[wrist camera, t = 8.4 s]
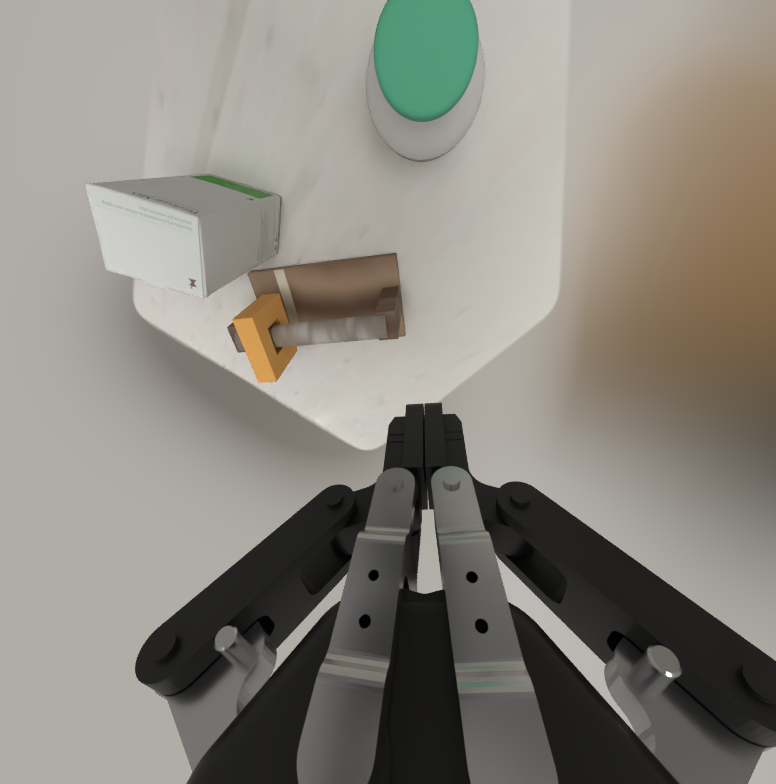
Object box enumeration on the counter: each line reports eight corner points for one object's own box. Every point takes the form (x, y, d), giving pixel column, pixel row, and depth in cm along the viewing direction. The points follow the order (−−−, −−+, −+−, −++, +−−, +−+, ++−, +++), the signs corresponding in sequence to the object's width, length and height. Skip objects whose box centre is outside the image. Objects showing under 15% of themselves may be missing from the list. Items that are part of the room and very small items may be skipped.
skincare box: (282, 196, 35) (204, 215, 23) (278, 258, 39) (209, 304, 26) (204, 171, 35) (78, 176, 22) (207, 237, 38) (101, 273, 26)
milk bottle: (387, 45, 28) (339, -117, 12) (476, 59, 28) (551, -85, 12) (377, 155, 33) (333, 147, 16) (454, 167, 33) (487, 171, 16)
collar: (262, 294, 36) (232, 319, 30) (279, 293, 36) (252, 317, 30) (282, 351, 40) (258, 382, 34) (297, 349, 40) (276, 381, 34)
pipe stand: (251, 270, 40) (205, 299, 32) (396, 252, 38) (388, 278, 29) (277, 344, 46) (244, 385, 37) (405, 332, 43) (401, 374, 35)
